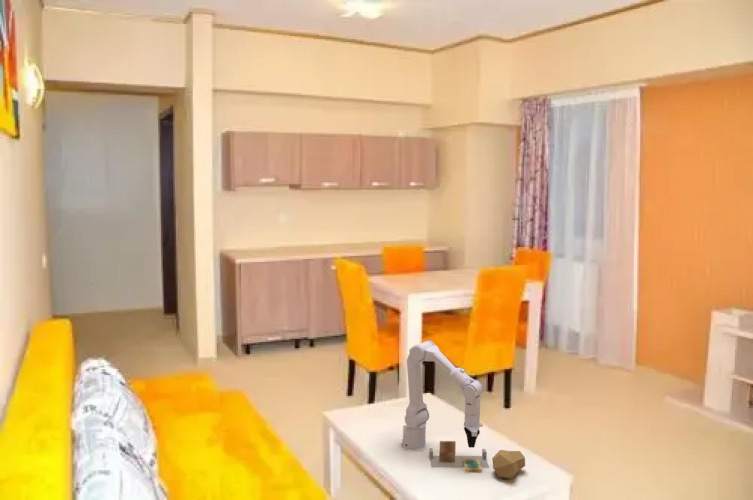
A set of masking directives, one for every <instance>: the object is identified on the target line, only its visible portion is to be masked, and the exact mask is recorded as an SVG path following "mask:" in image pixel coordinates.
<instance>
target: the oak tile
mask: <svg viewBox="0 0 753 500" xmlns="http://www.w3.org/2000/svg"><path fill="white" fill-rule="evenodd" d="M463 465H464V471H465V473H483V472H482V471H483V468H481V465H480V462H479V460H471V459H463Z"/></svg>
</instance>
